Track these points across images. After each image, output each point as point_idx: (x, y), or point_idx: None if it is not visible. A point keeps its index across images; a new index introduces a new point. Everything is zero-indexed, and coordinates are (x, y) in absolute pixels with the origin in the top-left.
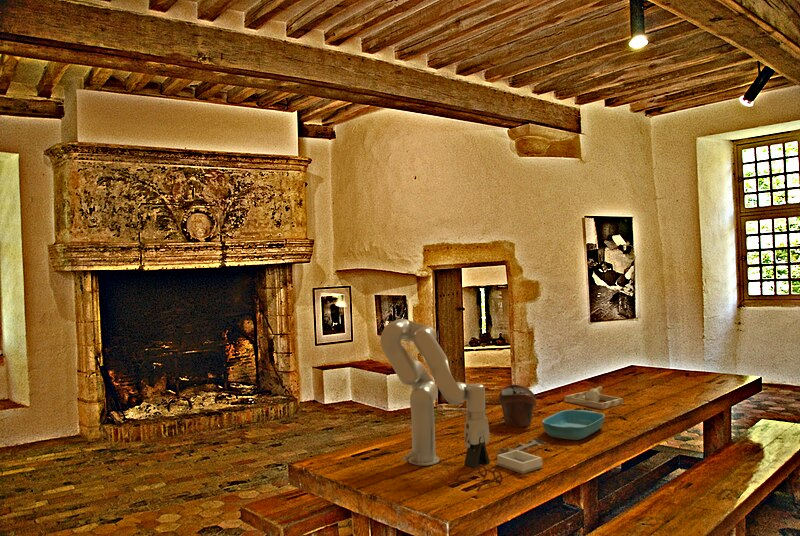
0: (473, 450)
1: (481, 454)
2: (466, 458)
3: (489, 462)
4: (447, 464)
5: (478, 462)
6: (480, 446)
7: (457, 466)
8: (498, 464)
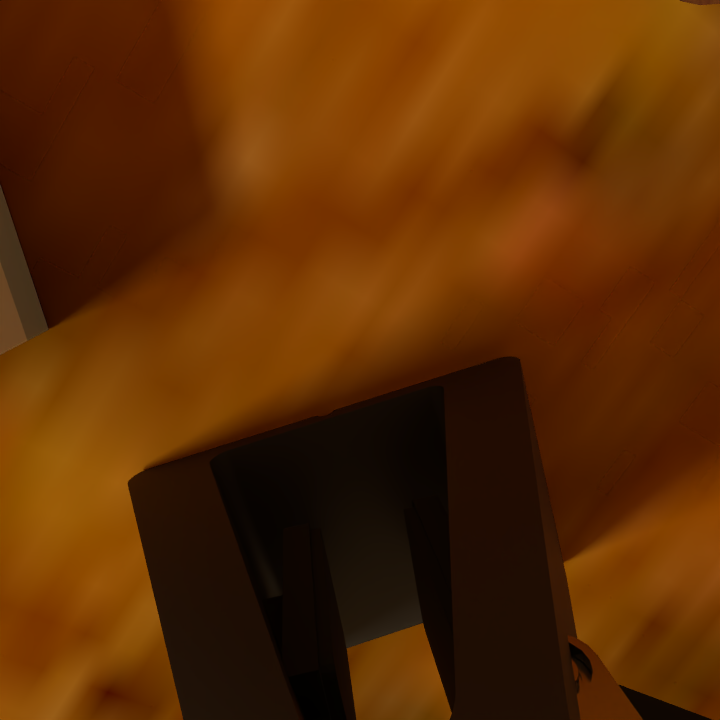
0: (598, 681)
1: (314, 590)
2: (575, 634)
3: (138, 480)
4: (717, 684)
5: (457, 407)
6: (499, 688)
7: (668, 561)
8: (29, 299)
